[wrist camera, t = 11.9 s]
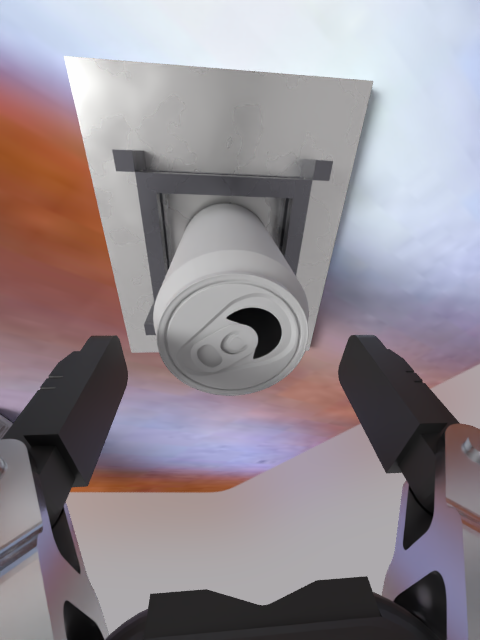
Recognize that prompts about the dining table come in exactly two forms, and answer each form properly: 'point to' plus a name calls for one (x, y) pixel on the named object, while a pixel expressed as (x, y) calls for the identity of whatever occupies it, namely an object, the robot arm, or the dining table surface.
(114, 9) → the dining table surface
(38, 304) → the dining table surface
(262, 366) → the beverage can
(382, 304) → the dining table surface
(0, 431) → the coffee box
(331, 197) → the collar stand
